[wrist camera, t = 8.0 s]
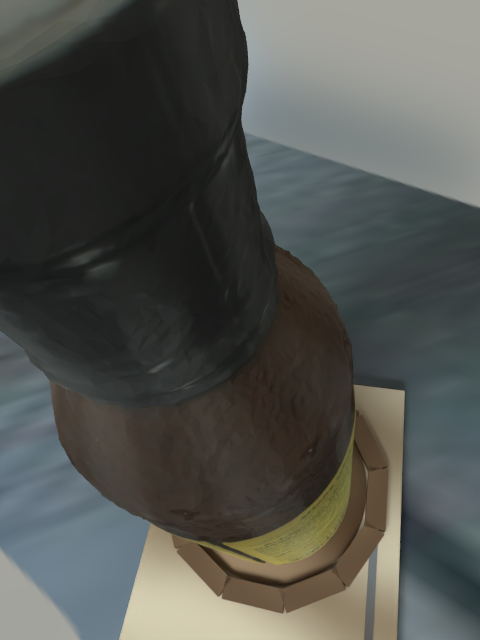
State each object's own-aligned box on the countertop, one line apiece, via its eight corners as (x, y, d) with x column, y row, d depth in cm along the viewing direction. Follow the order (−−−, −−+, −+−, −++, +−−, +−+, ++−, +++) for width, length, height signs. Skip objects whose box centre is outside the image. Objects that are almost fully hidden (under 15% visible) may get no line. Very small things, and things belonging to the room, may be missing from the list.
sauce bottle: (346, 420, 21) (429, -285, 4) (349, 575, 18) (722, 324, 1) (210, 414, 22) (-161, -150, 5) (191, 559, 19) (-830, 320, 2)
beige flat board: (385, 922, 14) (389, 943, 13) (80, 805, 16) (67, 817, 16) (402, 395, 22) (406, 387, 21) (196, 369, 24) (191, 361, 24)
